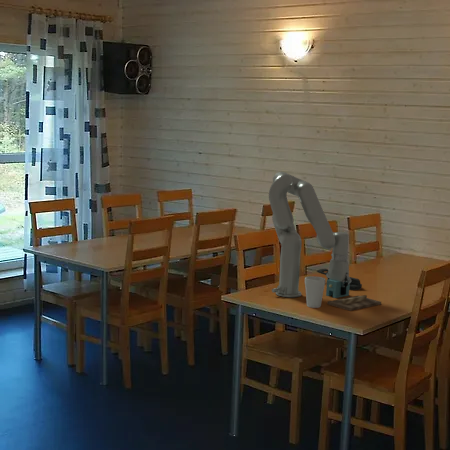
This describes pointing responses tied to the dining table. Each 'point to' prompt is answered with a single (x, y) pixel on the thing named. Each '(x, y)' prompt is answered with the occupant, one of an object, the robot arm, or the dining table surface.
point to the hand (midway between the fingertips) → (337, 292)
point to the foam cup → (314, 291)
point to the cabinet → (335, 288)
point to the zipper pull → (355, 282)
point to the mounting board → (354, 303)
